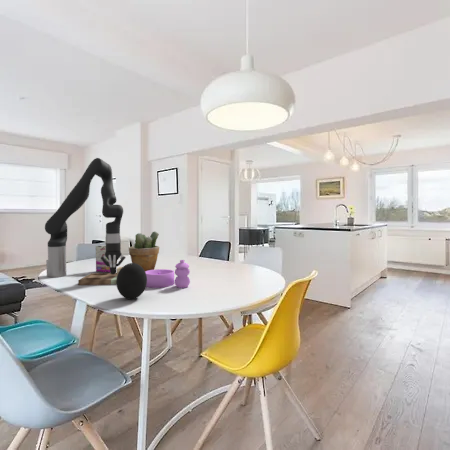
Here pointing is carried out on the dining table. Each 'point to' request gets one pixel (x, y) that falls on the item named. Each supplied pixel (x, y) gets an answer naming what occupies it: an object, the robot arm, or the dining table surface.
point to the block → (118, 269)
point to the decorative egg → (131, 281)
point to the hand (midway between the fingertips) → (113, 274)
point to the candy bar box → (99, 263)
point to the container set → (169, 276)
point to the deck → (98, 279)
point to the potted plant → (145, 251)
